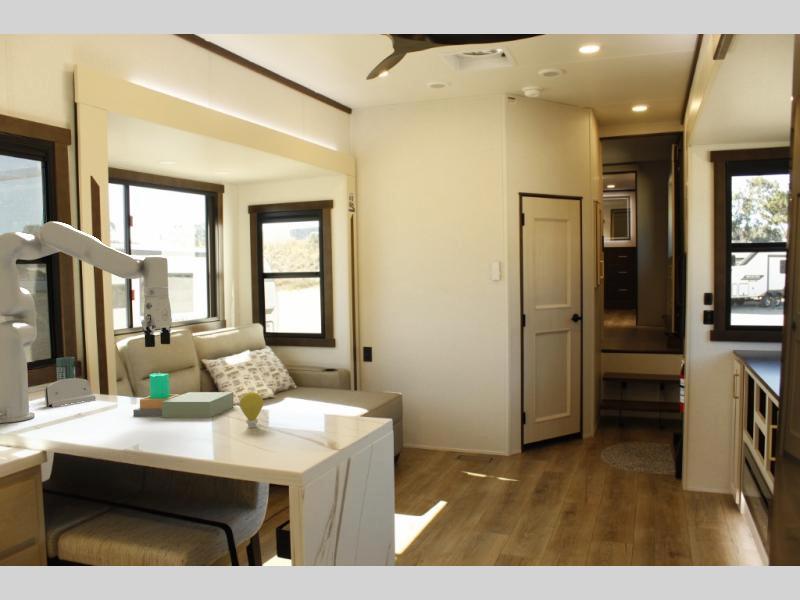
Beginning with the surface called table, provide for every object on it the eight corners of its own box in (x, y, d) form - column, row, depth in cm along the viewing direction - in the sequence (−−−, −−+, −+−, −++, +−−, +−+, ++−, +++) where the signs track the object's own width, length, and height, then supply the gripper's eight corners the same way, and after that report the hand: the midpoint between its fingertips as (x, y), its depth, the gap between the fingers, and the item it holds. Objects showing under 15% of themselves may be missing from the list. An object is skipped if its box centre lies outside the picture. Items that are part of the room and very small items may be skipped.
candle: (147, 406, 217) (146, 369, 217) (165, 403, 221) (163, 367, 221) (155, 408, 213) (153, 371, 213) (173, 405, 217) (171, 369, 217)
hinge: (52, 407, 231) (46, 380, 232) (46, 411, 233) (39, 384, 235) (97, 399, 245) (90, 374, 246) (90, 403, 247) (84, 377, 249)
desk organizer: (210, 417, 205) (209, 401, 204) (130, 417, 209) (129, 401, 209) (233, 406, 222) (233, 392, 222) (159, 406, 227) (158, 392, 226)
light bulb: (267, 427, 189) (265, 392, 188) (244, 430, 185) (242, 395, 185) (259, 423, 194) (258, 389, 194) (237, 426, 191) (236, 392, 191)
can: (79, 395, 256) (77, 357, 256) (67, 398, 250) (65, 359, 250) (66, 395, 258) (64, 357, 257) (54, 397, 252) (52, 358, 252)
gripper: (153, 293, 207) (154, 348, 207) (179, 293, 224) (181, 343, 224) (131, 294, 208) (132, 348, 208) (159, 293, 225) (160, 343, 225)
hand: (157, 345), depth 216 cm, fingers open, 9 cm apart
